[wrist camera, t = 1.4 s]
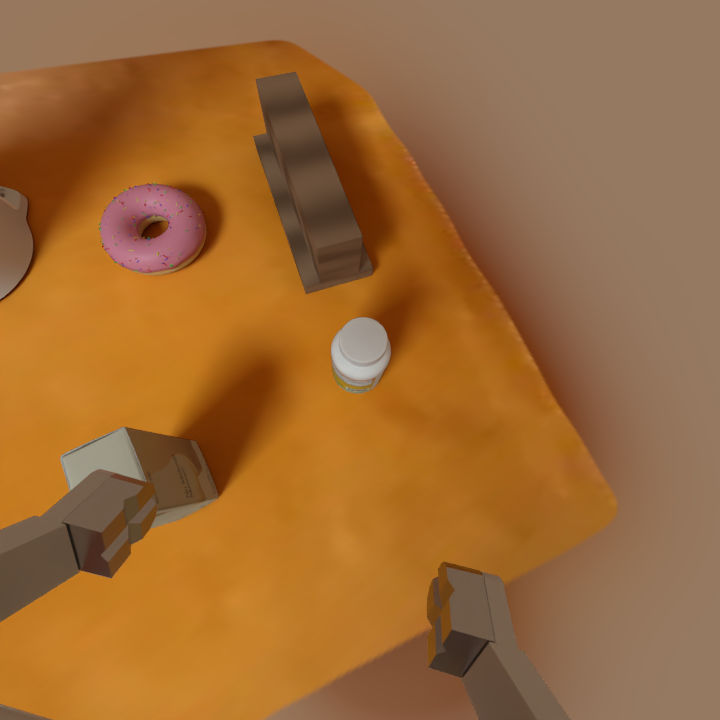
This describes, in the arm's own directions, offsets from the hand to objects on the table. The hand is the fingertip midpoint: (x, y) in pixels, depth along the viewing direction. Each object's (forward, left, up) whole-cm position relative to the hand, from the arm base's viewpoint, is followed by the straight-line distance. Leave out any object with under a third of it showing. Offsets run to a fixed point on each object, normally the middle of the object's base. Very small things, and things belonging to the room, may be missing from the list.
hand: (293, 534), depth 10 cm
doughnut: (-29, +16, -26) cm, 42 cm away
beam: (-16, +28, -26) cm, 41 cm away
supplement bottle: (-2, +12, -26) cm, 29 cm away
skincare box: (-12, -5, -26) cm, 29 cm away
